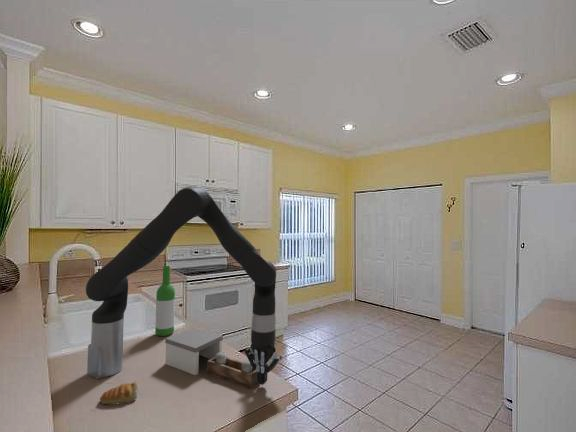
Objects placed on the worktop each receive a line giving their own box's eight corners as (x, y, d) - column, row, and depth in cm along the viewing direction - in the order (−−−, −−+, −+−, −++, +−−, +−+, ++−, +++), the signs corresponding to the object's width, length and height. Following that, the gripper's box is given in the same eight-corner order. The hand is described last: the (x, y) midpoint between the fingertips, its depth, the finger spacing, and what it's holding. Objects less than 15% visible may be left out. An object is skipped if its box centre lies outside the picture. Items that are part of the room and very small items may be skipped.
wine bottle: (169, 329, 140) (171, 264, 140) (176, 333, 134) (178, 266, 135) (152, 333, 134) (154, 266, 135) (159, 338, 129) (161, 268, 129)
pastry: (98, 410, 80) (99, 396, 81) (101, 397, 86) (101, 383, 87) (137, 401, 85) (138, 387, 85) (137, 389, 91) (138, 376, 91)
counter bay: (194, 375, 99) (195, 348, 99) (164, 364, 106) (165, 338, 106) (222, 360, 110) (222, 335, 110) (193, 350, 118) (193, 327, 118)
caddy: (260, 380, 97) (261, 361, 97) (250, 388, 92) (250, 369, 92) (218, 366, 106) (219, 348, 106) (207, 372, 101) (207, 354, 101)
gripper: (288, 327, 93) (286, 384, 93) (253, 319, 100) (252, 372, 100) (274, 335, 87) (273, 395, 87) (239, 326, 93) (237, 382, 93)
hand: (262, 383), depth 93 cm, fingers closed
